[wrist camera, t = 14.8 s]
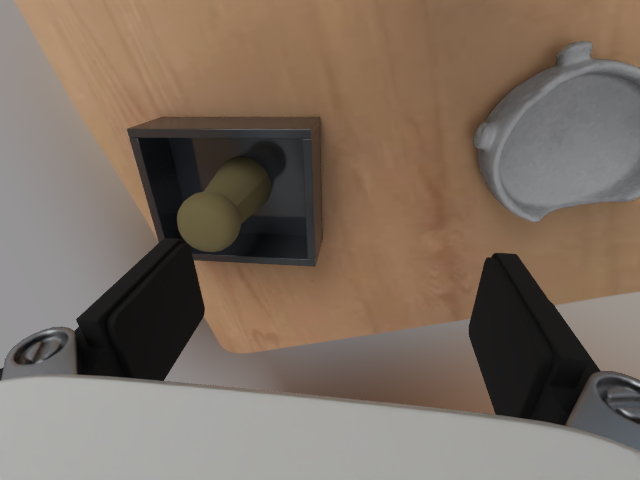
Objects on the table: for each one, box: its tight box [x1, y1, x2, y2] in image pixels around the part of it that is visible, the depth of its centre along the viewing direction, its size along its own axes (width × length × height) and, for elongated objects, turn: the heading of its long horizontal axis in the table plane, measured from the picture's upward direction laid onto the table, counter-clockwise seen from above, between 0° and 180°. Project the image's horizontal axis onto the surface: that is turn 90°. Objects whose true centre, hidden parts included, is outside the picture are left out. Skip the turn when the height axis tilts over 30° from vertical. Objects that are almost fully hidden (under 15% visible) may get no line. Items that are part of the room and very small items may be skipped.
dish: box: [473, 41, 640, 222], centre depth 30 cm, size 14×14×5 cm
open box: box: [127, 117, 323, 266], centre depth 36 cm, size 14×17×6 cm
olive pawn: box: [177, 157, 271, 252], centre depth 33 cm, size 6×6×11 cm
